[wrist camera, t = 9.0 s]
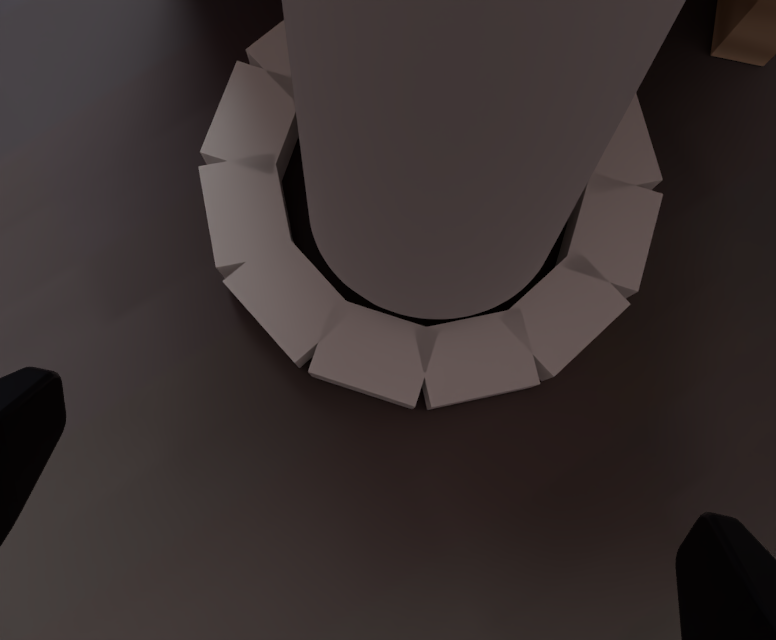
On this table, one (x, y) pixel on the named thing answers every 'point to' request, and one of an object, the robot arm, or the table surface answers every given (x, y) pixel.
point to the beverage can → (457, 134)
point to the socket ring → (388, 333)
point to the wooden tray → (745, 31)
